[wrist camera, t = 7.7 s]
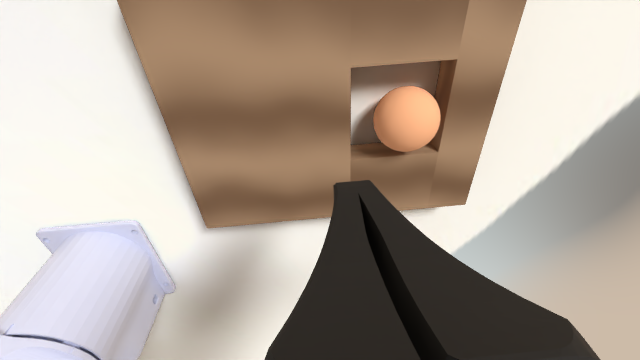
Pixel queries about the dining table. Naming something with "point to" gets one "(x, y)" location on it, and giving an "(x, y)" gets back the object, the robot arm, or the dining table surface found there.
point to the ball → (406, 118)
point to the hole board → (315, 97)
